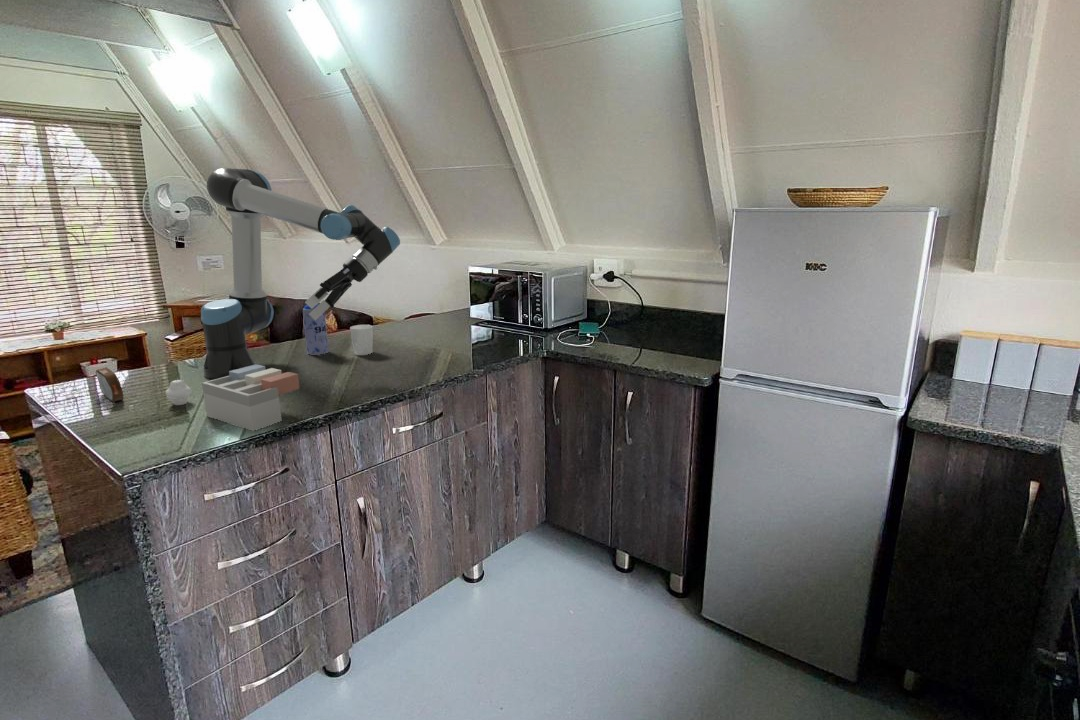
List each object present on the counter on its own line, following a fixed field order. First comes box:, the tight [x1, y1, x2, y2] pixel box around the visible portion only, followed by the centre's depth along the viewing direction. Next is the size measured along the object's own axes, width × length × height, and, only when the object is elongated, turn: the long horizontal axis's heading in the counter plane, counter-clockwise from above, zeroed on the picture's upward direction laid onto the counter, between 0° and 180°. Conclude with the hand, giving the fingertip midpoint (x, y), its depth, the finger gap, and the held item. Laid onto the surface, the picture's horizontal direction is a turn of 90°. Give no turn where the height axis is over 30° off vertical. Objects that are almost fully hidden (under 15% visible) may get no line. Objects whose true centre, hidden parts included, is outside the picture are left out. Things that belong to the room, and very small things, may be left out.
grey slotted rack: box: [201, 376, 282, 432], centre depth 152 cm, size 20×8×9 cm, turn 59°
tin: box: [95, 367, 124, 403], centre depth 168 cm, size 15×3×8 cm, turn 48°
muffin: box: [165, 379, 192, 406], centre depth 164 cm, size 6×6×7 cm
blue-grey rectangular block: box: [229, 364, 266, 382], centre depth 160 cm, size 4×8×4 cm, turn 149°
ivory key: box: [245, 367, 283, 386], centre depth 156 cm, size 4×8×4 cm, turn 149°
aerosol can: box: [302, 303, 330, 356], centre depth 215 cm, size 8×8×20 cm
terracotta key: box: [261, 371, 301, 396], centre depth 153 cm, size 4×8×4 cm, turn 149°
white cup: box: [349, 324, 374, 356], centre depth 216 cm, size 8×8×10 cm
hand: (310, 311), depth 179 cm, fingers open, 13 cm apart
